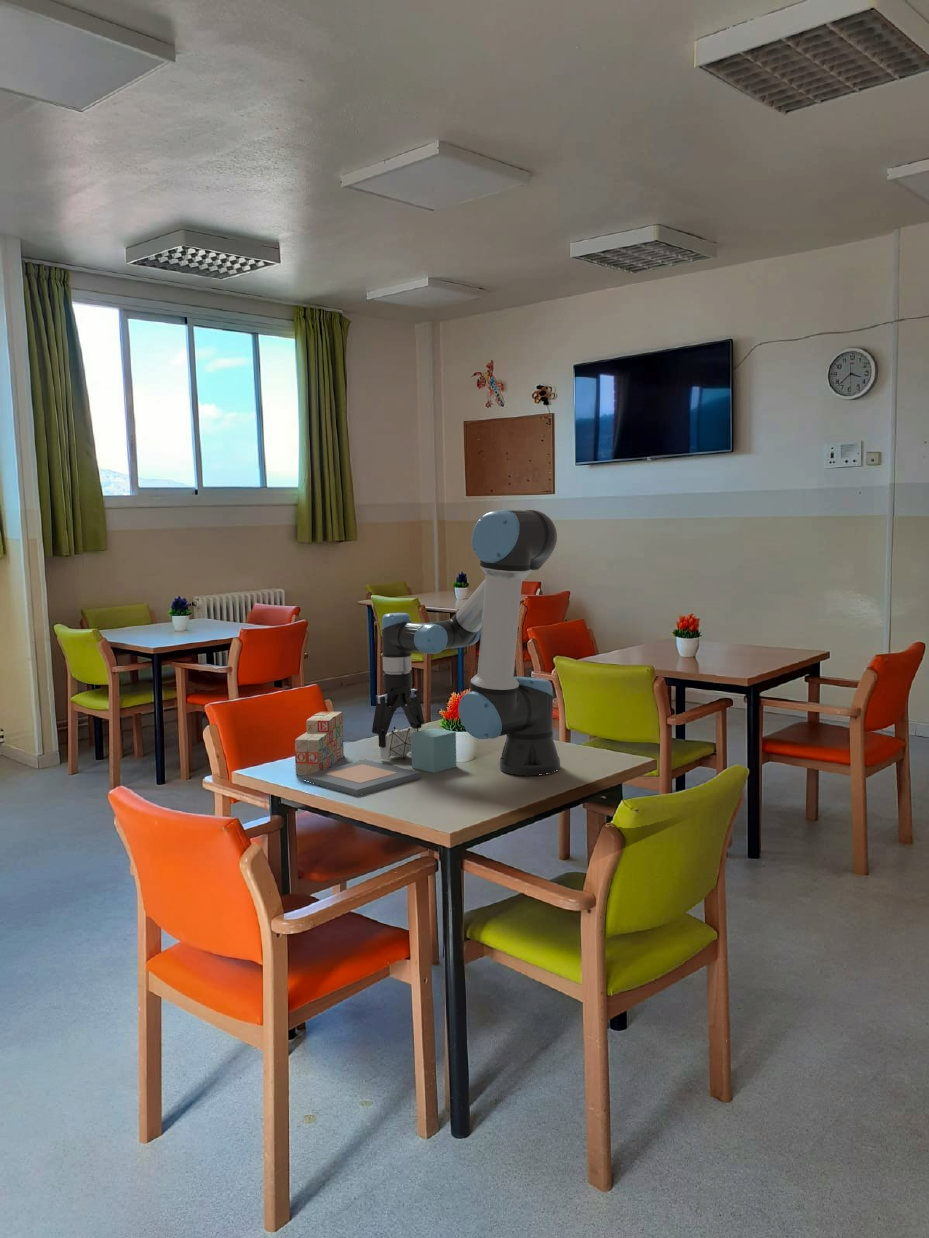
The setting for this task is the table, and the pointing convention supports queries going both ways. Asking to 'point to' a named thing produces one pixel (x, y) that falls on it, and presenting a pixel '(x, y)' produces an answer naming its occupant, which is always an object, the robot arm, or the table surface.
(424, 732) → the teal block
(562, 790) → the table surface
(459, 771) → the table surface
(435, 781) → the table surface
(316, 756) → the stack of blocks
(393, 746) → the grey icosahedron
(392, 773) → the baseplate
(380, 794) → the table surface
